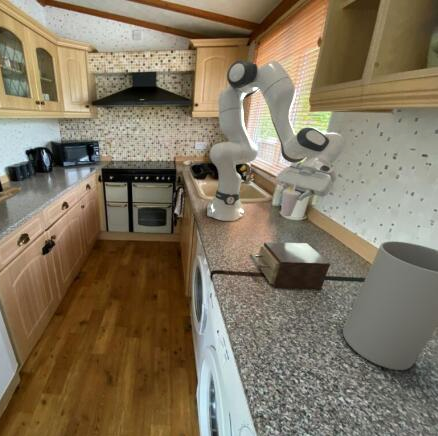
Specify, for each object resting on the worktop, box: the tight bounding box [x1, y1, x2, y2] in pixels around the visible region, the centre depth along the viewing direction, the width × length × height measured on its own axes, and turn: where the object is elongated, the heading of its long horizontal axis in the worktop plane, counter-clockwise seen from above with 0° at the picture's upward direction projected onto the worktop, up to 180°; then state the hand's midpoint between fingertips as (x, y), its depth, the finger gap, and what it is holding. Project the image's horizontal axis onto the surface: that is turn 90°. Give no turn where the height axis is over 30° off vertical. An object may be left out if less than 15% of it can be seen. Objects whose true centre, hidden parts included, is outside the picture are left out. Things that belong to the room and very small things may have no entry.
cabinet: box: [263, 241, 331, 290], centre depth 81 cm, size 15×13×10 cm
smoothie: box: [280, 181, 302, 217], centre depth 96 cm, size 6×6×14 cm
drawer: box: [248, 244, 280, 285], centre depth 81 cm, size 18×11×8 cm, turn 88°
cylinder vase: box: [342, 240, 438, 371], centre depth 53 cm, size 12×12×25 cm
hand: (289, 196), depth 96 cm, fingers closed on smoothie, 6 cm apart
